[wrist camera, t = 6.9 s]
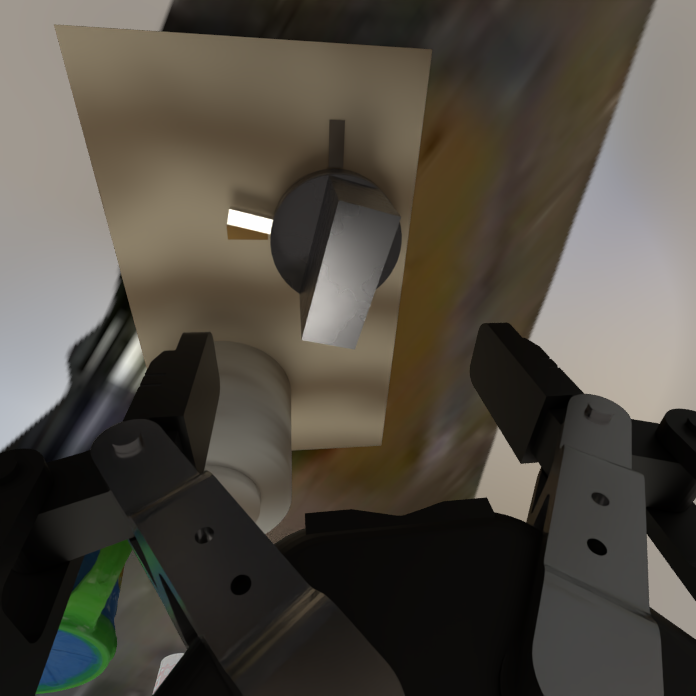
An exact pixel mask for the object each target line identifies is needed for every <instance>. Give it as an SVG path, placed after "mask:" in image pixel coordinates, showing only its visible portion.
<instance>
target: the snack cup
mask: <svg viewBox="0 0 696 696" xmlns="http://www.w3.org/2000/svg"><path fill="white" fill-rule="evenodd" d="M131 551H132V547H131V546H130V544H129V542H128V540H124V541H121V542H119V543H116V544H113V545H111V546H108V547H105V548H102V549H100V550H97V551H94V552H92V553H89V554H86V555H85V556H84V558H83V561H82V564H81V567H80V570H79V573H78V575H77V578H76V581H75V584H74V587H73V589H72V592H71V595H70V598H69V601H68V604H67V606H66V609H65V612H64V615H63V618H62V620H61V623H60V626H59V629H58V632H57V635H56V637H55V640H54V643H53V646H52V649H51V651H50V654H49V657H48V660H47V663H46V666H45V668H44V671H43V674H42V677H41V680H40V682H39V685H38V688H37V691H36V694H41V693H48V692H56V691H61V690H65V689H69V688H73V687H76V686H79V685H82V684H85V683H87V682H89V681H91V680H92V679H94V678H96V677H97V676H98V675H100V674H101V673H102V672H103V671H104V670H105V669H106V667H107V665H108V664H109V662H110V660H111V659H113V657H114V655H115V652H116V647H117V637H116V633H115V625H114V617H115V615H116V611H117V601H118V598H119V592H120V588H121V582H122V576H123V571H124V565H125V562H126V560H127V559H128V557H129V555H130V553H131Z"/></svg>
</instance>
